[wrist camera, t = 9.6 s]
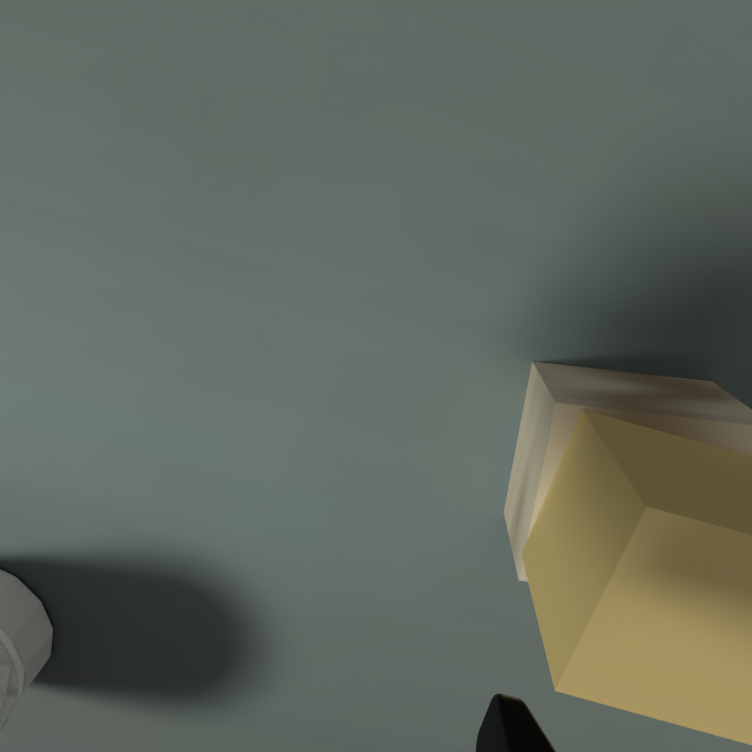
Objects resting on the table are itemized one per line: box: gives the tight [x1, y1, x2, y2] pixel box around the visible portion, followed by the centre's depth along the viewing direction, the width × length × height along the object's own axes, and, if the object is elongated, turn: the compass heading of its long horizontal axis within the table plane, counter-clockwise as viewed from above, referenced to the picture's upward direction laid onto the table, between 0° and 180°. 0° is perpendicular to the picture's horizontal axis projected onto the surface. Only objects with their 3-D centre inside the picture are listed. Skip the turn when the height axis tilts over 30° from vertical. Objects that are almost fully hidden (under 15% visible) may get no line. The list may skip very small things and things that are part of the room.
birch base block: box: [504, 361, 752, 582], centre depth 19 cm, size 6×6×4 cm
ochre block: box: [522, 409, 752, 745], centre depth 15 cm, size 5×5×5 cm
